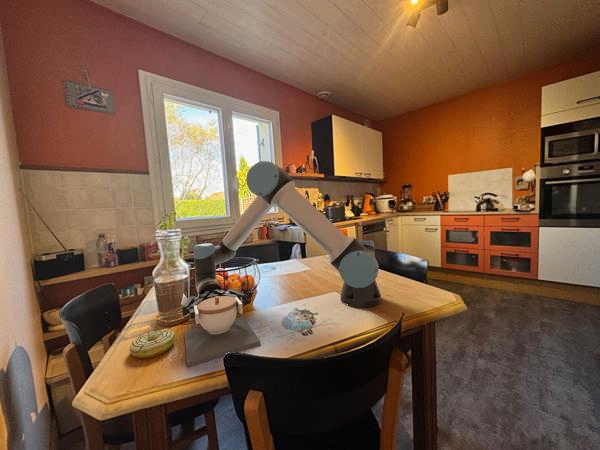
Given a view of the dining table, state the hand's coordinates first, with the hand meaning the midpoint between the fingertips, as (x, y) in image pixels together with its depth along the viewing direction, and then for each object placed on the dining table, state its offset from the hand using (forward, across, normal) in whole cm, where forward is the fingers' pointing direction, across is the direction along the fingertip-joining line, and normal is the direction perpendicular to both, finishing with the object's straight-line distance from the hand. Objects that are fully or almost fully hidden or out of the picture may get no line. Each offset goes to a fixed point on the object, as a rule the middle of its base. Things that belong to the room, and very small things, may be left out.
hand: (220, 313), depth 65 cm
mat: (-4, 0, -9) cm, 10 cm away
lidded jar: (-4, 0, -6) cm, 7 cm away
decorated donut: (-9, +17, -10) cm, 21 cm away
